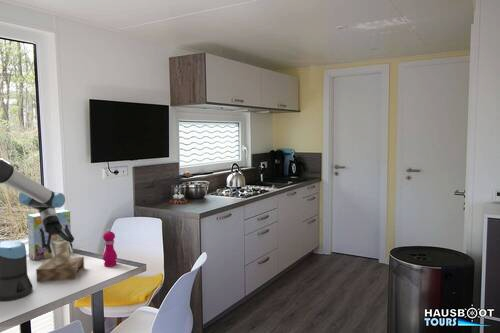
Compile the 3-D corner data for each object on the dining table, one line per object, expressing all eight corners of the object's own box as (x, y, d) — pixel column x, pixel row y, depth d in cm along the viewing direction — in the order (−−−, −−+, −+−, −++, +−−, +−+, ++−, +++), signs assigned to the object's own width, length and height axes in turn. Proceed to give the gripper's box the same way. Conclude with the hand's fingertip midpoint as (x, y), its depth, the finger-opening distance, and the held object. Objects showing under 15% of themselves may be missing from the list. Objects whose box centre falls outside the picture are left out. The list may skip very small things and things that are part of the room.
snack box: (35, 261, 220) (32, 216, 218) (28, 258, 225) (25, 214, 223) (72, 251, 237) (70, 210, 235) (65, 249, 243) (63, 208, 241)
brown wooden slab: (36, 281, 189) (36, 269, 189) (47, 270, 205) (47, 259, 205) (76, 278, 192) (75, 267, 192) (84, 268, 208) (83, 257, 208)
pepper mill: (105, 268, 207) (103, 231, 206) (101, 264, 213) (100, 228, 212) (118, 265, 211) (117, 229, 210) (115, 262, 217) (113, 226, 216)
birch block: (56, 265, 194) (55, 244, 193) (52, 263, 198) (51, 241, 197) (69, 262, 198) (68, 241, 197) (64, 260, 203) (63, 239, 202)
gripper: (68, 220, 215) (81, 255, 205) (27, 226, 200) (39, 264, 190) (71, 212, 211) (85, 247, 201) (29, 218, 196) (42, 256, 186)
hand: (63, 255), depth 196 cm, fingers open, 8 cm apart
